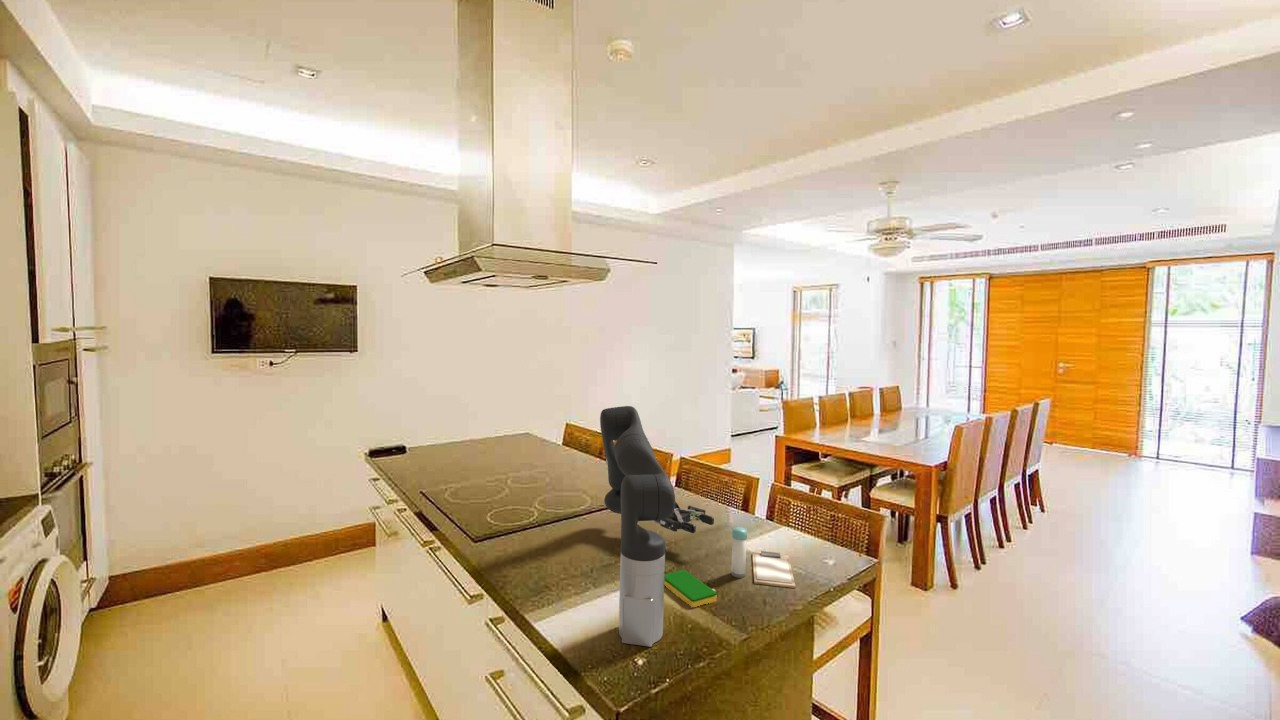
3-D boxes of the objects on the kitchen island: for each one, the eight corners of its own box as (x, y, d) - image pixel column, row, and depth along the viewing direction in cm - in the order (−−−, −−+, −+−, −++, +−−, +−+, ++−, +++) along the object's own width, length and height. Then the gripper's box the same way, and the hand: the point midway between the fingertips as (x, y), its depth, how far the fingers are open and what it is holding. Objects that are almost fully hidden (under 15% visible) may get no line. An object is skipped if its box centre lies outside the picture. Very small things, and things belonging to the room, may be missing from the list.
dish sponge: (684, 578, 135) (684, 569, 135) (717, 602, 123) (717, 592, 123) (660, 584, 132) (660, 575, 131) (692, 610, 120) (692, 599, 119)
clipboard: (795, 588, 130) (795, 583, 130) (754, 583, 132) (754, 578, 132) (788, 557, 148) (788, 553, 148) (752, 554, 150) (752, 549, 150)
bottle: (745, 578, 135) (747, 533, 134) (730, 577, 135) (732, 531, 135) (745, 572, 138) (747, 527, 138) (730, 570, 139) (732, 526, 138)
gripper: (643, 503, 150) (689, 518, 139) (675, 492, 160) (719, 505, 149) (643, 528, 150) (688, 546, 139) (674, 516, 161) (718, 531, 150)
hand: (704, 525), depth 144 cm, fingers open, 8 cm apart
